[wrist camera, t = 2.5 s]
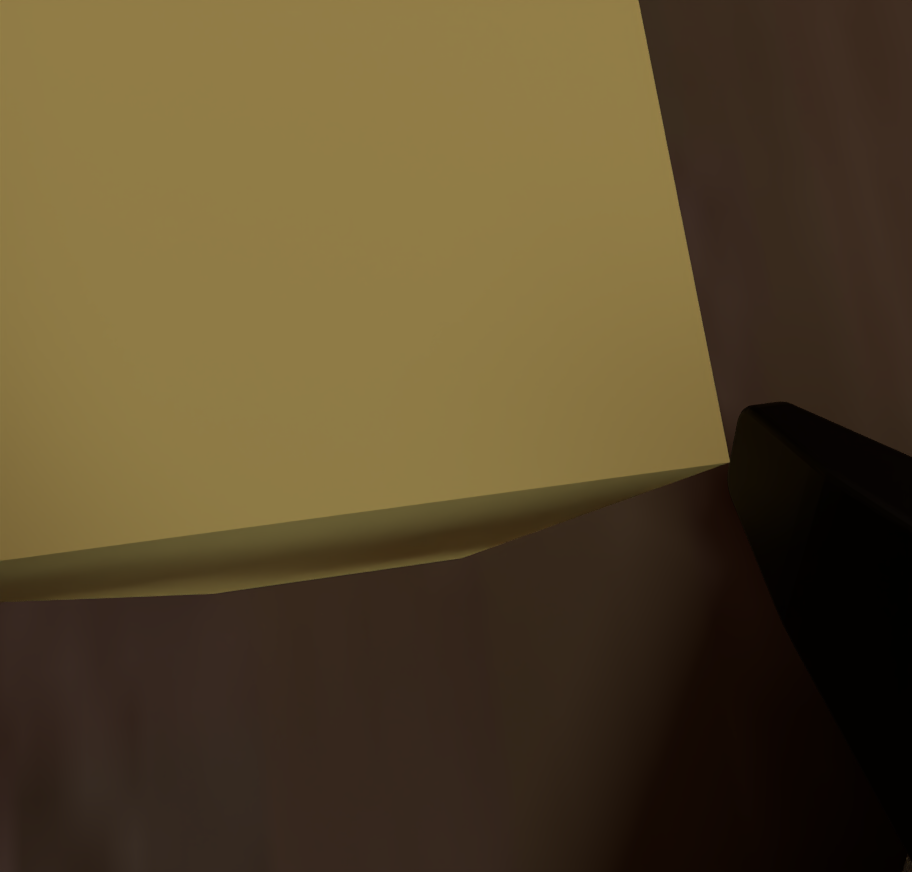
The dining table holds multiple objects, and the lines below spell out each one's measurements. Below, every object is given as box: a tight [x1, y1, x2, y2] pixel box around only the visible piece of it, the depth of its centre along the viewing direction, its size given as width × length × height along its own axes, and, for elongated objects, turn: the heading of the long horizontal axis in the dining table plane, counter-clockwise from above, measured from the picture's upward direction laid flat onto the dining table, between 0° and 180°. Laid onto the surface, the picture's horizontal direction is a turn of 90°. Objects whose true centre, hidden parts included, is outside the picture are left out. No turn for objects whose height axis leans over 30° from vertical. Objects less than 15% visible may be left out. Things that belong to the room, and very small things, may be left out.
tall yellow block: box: [0, 0, 730, 602], centre depth 11 cm, size 5×5×14 cm
